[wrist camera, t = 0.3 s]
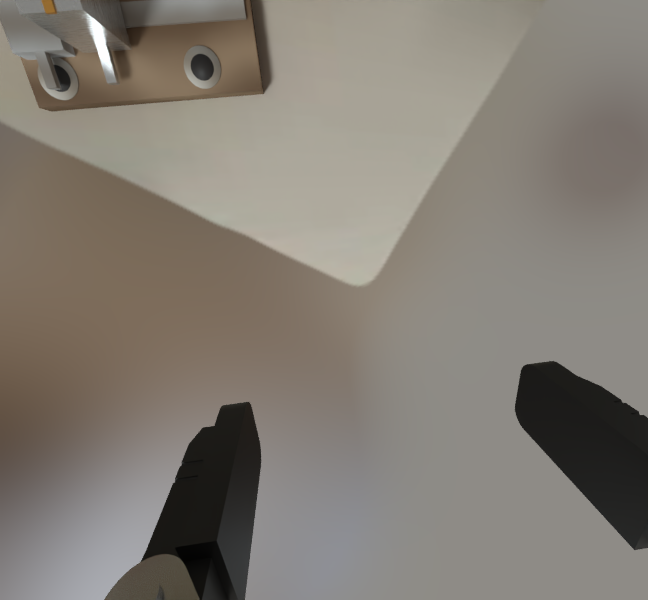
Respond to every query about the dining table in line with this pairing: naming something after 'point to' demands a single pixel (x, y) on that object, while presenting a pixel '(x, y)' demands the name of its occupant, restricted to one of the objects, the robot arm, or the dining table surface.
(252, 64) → the sliding latch plate
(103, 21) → the grey latch block
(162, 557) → the robot arm
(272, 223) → the dining table surface
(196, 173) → the dining table surface
